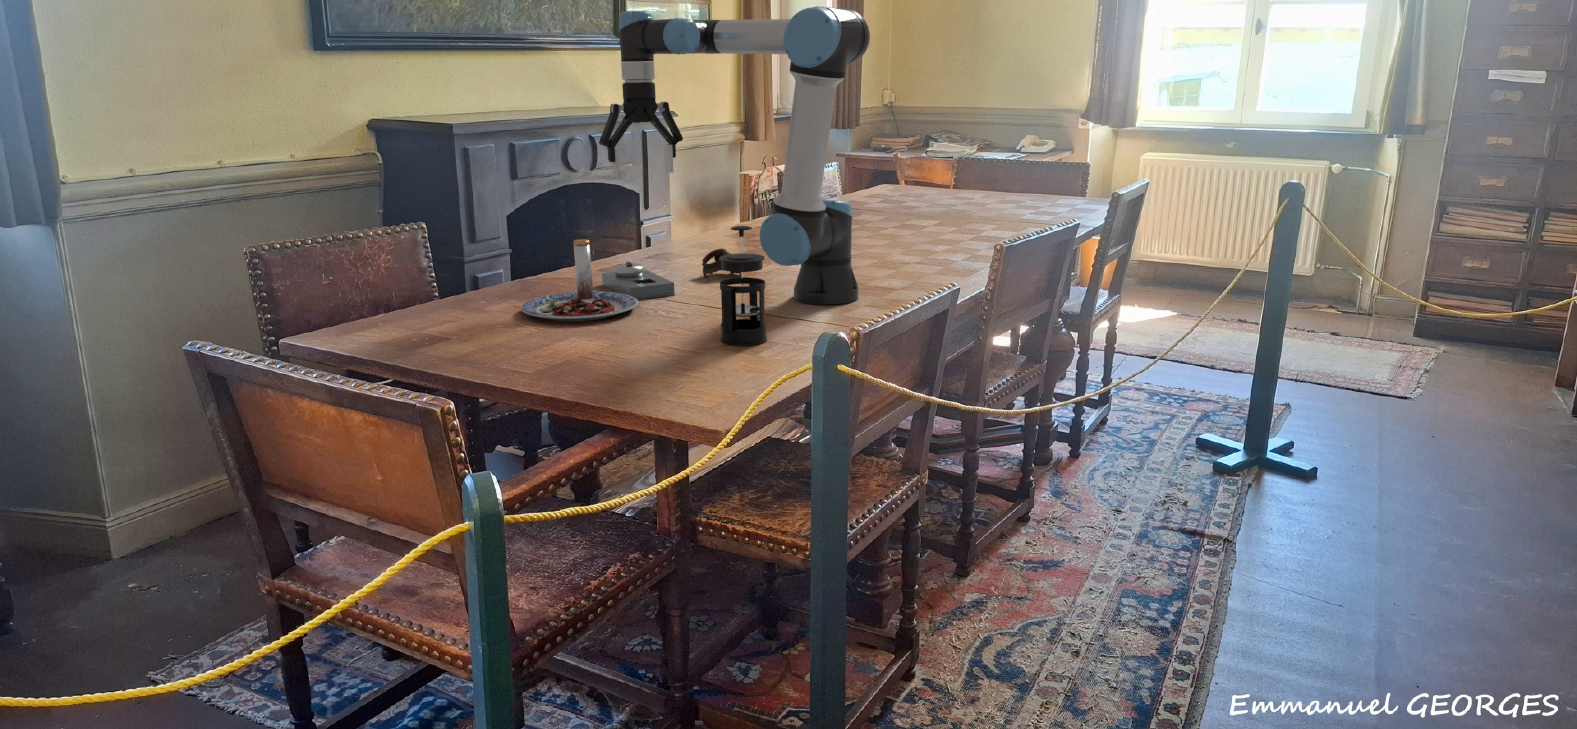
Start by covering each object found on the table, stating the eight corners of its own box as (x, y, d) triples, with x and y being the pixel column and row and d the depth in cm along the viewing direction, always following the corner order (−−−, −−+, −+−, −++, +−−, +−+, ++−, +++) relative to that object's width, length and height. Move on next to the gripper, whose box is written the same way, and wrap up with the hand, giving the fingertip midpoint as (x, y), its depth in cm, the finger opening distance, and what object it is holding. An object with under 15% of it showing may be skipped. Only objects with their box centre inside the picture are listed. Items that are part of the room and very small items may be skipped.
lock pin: (595, 298, 244) (591, 240, 240) (580, 300, 242) (576, 242, 238) (590, 295, 247) (586, 238, 243) (575, 297, 245) (571, 240, 241)
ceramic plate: (655, 303, 251) (655, 291, 251) (608, 330, 228) (608, 316, 227) (555, 297, 258) (554, 285, 257) (499, 323, 234) (498, 310, 233)
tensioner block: (674, 295, 258) (673, 270, 257) (630, 300, 253) (629, 275, 252) (644, 280, 275) (642, 256, 273) (602, 284, 270) (601, 261, 268)
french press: (736, 331, 224) (733, 220, 218) (776, 336, 220) (775, 223, 214) (707, 345, 214) (703, 229, 208) (748, 350, 210) (746, 232, 204)
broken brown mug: (746, 281, 276) (732, 255, 271) (713, 297, 277) (698, 272, 272) (741, 260, 286) (726, 235, 282) (709, 276, 287) (694, 251, 283)
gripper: (680, 79, 260) (684, 169, 265) (581, 82, 247) (587, 176, 253) (694, 79, 253) (698, 171, 259) (593, 82, 241) (599, 179, 247)
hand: (643, 174), depth 256 cm, fingers open, 13 cm apart
